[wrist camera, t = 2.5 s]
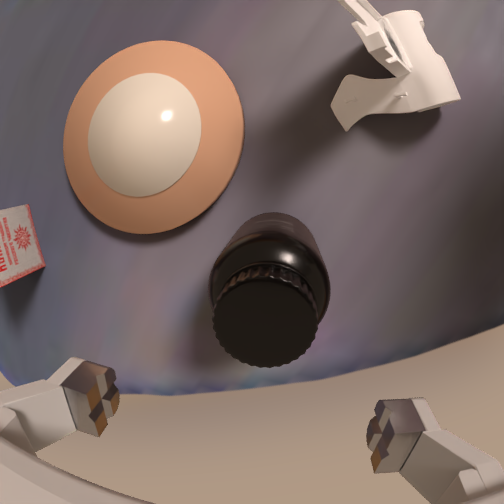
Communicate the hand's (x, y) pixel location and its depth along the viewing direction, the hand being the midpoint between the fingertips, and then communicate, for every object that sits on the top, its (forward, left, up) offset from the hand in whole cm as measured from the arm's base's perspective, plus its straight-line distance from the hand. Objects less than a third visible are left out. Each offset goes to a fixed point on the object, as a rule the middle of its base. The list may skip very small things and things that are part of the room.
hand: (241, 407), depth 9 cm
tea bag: (+26, +1, -18) cm, 31 cm away
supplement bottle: (0, 0, -18) cm, 18 cm away
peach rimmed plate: (+11, -9, -17) cm, 22 cm away
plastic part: (-8, -16, -18) cm, 25 cm away
